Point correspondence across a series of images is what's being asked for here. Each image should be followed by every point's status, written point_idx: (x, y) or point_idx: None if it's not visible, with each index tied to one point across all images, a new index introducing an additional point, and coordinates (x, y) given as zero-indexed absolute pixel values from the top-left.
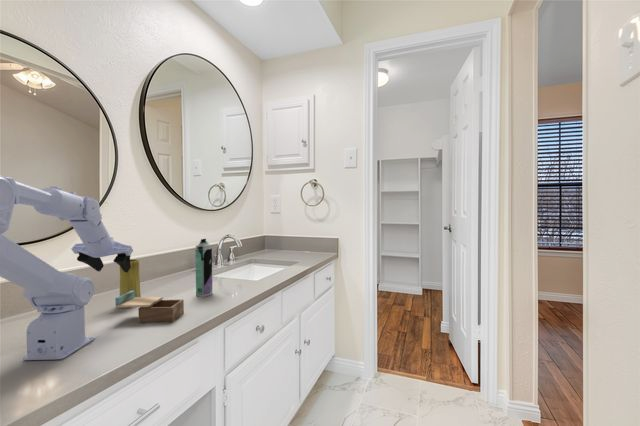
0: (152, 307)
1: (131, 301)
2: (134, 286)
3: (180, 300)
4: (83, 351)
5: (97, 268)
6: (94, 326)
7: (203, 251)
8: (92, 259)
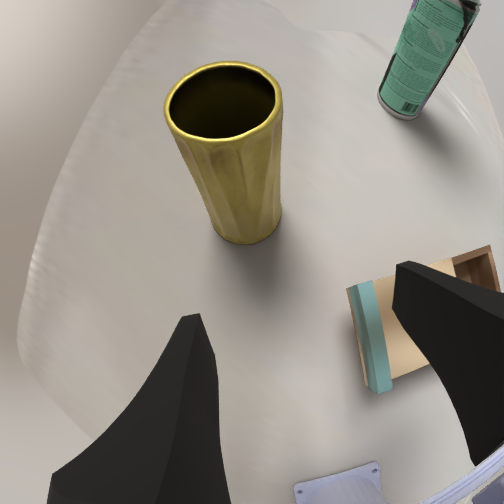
0: None
1: (390, 333)
2: (276, 188)
3: (489, 255)
4: (393, 494)
5: (215, 385)
6: (299, 405)
7: (473, 18)
8: (213, 474)
